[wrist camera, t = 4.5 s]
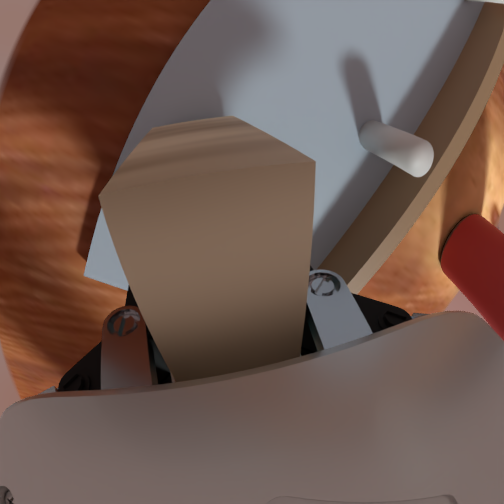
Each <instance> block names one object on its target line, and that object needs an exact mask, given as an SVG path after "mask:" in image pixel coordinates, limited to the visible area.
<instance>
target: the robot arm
mask: <svg viewBox="0 0 504 504" xmlns="http://www.w3.org/2000/svg"><path fill="white" fill-rule="evenodd" d="M0 504H504V341H503V340H502V338H501V337H500V336H499V335H498V334H497V333H496V332H495V331H494V330H493V328H492V327H491V326H490V325H489V324H487V323H486V322H485V321H484V320H483V319H482V318H480V317H479V316H477V315H475V314H473V313H470V312H465V311H444V312H438V313H432V314H421V313H413V315H412V316H410V315H409V314H408V313H407V312H406V311H405V310H403V309H401V308H399V307H396V306H392V305H389V304H386V303H383V302H379V301H376V300H373V299H370V298H366V297H363V296H360V295H357V294H353V293H351V292H350V290H349V288H348V286H347V285H346V283H345V281H344V280H343V278H342V277H341V276H340V275H338V274H337V273H335V272H332V271H329V270H323V269H322V270H313V268H312V267H311V265H310V272H309V283H308V293H307V303H306V312H305V321H304V329H303V337H302V345H301V352H300V357H297V358H293V359H290V360H286V361H282V362H278V363H274V364H270V365H266V366H262V367H257V368H253V369H248V370H244V371H239V372H234V373H229V374H224V375H219V376H213V377H207V378H201V379H195V380H189V381H182V382H175V379H174V377H173V375H172V374H171V372H170V370H169V368H168V366H167V364H166V363H165V361H164V359H163V357H162V355H161V353H160V351H159V349H158V347H157V345H156V343H155V341H154V339H153V337H152V335H151V333H150V331H149V329H148V327H147V325H146V323H145V320H144V318H143V316H142V314H141V312H140V309H139V307H138V305H137V303H136V300H135V298H134V296H133V293H132V291H131V289H130V286H128V292H127V298H126V304H125V306H123V307H120V308H117V309H116V310H114V311H112V312H111V313H110V314H109V315H108V316H107V317H106V319H105V321H104V323H103V328H102V341H101V342H100V343H99V344H98V345H97V346H96V347H94V348H93V349H92V350H91V351H90V352H89V353H88V354H87V355H86V356H84V357H83V358H82V359H81V360H80V361H79V362H78V363H77V364H76V365H74V366H73V367H72V368H71V369H70V370H69V371H68V372H67V373H66V374H65V375H64V376H63V377H62V379H61V381H60V383H59V387H58V388H56V387H55V386H53V387H51V388H49V389H47V390H45V391H43V392H42V393H40V394H38V395H35V396H31V397H27V398H25V399H22V400H20V401H18V402H16V403H14V404H13V405H11V406H10V407H8V408H7V409H6V410H5V411H4V412H3V414H2V416H1V418H0Z"/></svg>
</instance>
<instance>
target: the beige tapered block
mask: <svg viewBox="0 0 504 504" xmlns="http://www.w3.org/2000/svg"><path fill="white" fill-rule="evenodd" d="M315 172H316V161H314V160H313V159H311V158H309V157H308V156H306V155H304V154H303V153H301V152H299V151H298V150H296V149H294V148H293V147H291V146H289V145H287V144H286V143H284V142H282V141H280V140H279V139H277V138H275V137H273V136H271V135H269V134H268V133H266V132H264V131H262V130H260V129H258V128H256V127H254V126H253V125H251V124H249V123H247V122H245V121H243V120H241V119H239V118H237V117H235V116H224V117H215V118H208V119H200V120H193V121H187V122H181V123H175V124H170V125H164V126H159V127H154V128H152V129H151V130H150V131H149V132H148V133H147V134H146V136H145V137H144V138H143V139H142V140H141V141H140V143H139V144H138V145H137V146H136V147H135V148H134V150H133V151H132V152H131V153H130V155H129V156H128V157H127V158H126V159H125V161H124V162H123V163H122V165H121V166H120V167H119V168H118V170H117V171H116V172H115V174H114V175H113V176H112V178H111V179H110V180H109V182H108V183H107V184H106V186H105V187H104V189H103V190H102V191H101V193H100V194H99V196H98V197H99V200H100V204H101V207H102V210H103V214H104V217H105V220H106V223H107V226H108V229H109V232H110V235H111V238H112V241H113V244H114V247H115V250H116V253H117V255H118V258H119V261H120V263H121V266H122V269H123V271H124V274H125V276H126V279H127V281H128V284H129V286H130V289H131V291H132V293H133V296H134V298H135V300H136V303H137V305H138V307H139V309H140V312H141V314H142V316H143V318H144V320H145V323H146V325H147V327H148V329H149V331H150V333H151V335H152V337H153V339H154V341H155V343H156V345H157V347H158V349H159V351H160V353H161V355H162V357H163V359H164V361H165V363H166V364H167V366H168V368H169V370H170V372H171V374H172V375H173V377H174V379H175V381H176V382H182V381H189V380H195V379H201V378H207V377H213V376H219V375H224V374H229V373H234V372H239V371H244V370H248V369H253V368H257V367H262V366H266V365H270V364H274V363H278V362H282V361H286V360H290V359H293V358H297V357H300V352H301V345H302V337H303V329H304V321H305V312H306V303H307V293H308V283H309V272H310V260H311V248H312V233H313V217H314V198H315Z"/></svg>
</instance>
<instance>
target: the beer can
mask: <svg viewBox="0 0 504 504" xmlns="http://www.w3.org/2000/svg"><path fill="white" fill-rule="evenodd" d="M441 268H442V270H443V272H444V273H445V274H446V276H447V277H448V278H449V279H450V280H451V281H452V282H453V283H454V284H455V285H456V286H457V287H458V288H459V290H460V291H461V292H462V293H463V294H464V295H465V296H466V297H467V298H468V300H469V301H470V302H471V303H472V304H473V305H474V307H475V308H476V309H477V310H478V311H479V313H480V314H481V315H482V316H483V317H484V319H485V320H486V321H487V322H488V324H489V325H490V326H491V327H492V328H493V330H494V331H495V332H496V333H497V334H498V335H499V336H500V337H501V338H502V340H503V341H504V234H503V233H502V232H501V231H500V230H498V229H497V228H496V227H495V226H494V225H492V224H491V223H490V222H489V221H487V220H486V219H485V218H483V217H482V216H481V215H477V214H472V215H469V216H467V217H465V218H464V219H463V220H461V221H460V222H459V223H458V224H457V225H456V227H455V228H454V229H453V230H452V232H451V234H450V235H449V237H448V238H447V241H446V243H445V245H444V247H443V251H442V255H441Z"/></svg>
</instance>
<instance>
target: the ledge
mask: <svg viewBox="0 0 504 504" xmlns="http://www.w3.org/2000/svg"><path fill="white" fill-rule="evenodd" d="M503 64H504V0H210V2H209V3H208V4H207V5H206V7H205V8H204V9H203V11H202V12H201V13H200V15H199V16H198V17H197V19H196V20H195V21H194V23H193V24H192V25H191V27H190V28H189V30H188V31H187V33H186V34H185V35H184V37H183V38H182V40H181V41H180V43H179V44H178V46H177V47H176V49H175V51H174V52H173V54H172V55H171V57H170V58H169V60H168V62H167V63H166V65H165V67H164V68H163V70H162V72H161V74H160V75H159V77H158V79H157V81H156V82H155V84H154V86H153V88H152V90H151V91H150V93H149V95H148V97H147V99H146V101H145V103H144V105H143V107H142V109H141V111H140V113H139V115H138V117H137V119H136V121H135V123H134V125H133V128H132V130H131V132H130V134H129V136H128V139H127V141H126V143H125V146H124V148H123V150H122V153H121V155H120V158H119V160H118V163H117V165H116V168H115V171H114V173H113V175H114V174H115V172H116V171H117V170H118V168H119V167H120V166H121V165H122V163H123V162H124V161H125V159H126V158H127V157H128V156H129V155H130V153H131V152H132V151H133V150H134V148H135V147H136V146H137V145H138V144H139V143H140V141H141V140H142V139H143V138H144V137H145V136H146V134H147V133H148V132H149V131H150V130H151V129H152V128H154V127H159V126H164V125H170V124H175V123H181V122H187V121H193V120H200V119H208V118H215V117H224V116H235V117H237V118H239V119H241V120H243V121H245V122H247V123H249V124H251V125H253V126H254V127H256V128H258V129H260V130H262V131H264V132H266V133H268V134H269V135H271V136H273V137H275V138H277V139H279V140H280V141H282V142H284V143H286V144H287V145H289V146H291V147H293V148H294V149H296V150H298V151H299V152H301V153H303V154H304V155H306V156H308V157H309V158H311V159H313V160H314V161H316V172H315V198H314V217H313V233H312V248H311V260H310V265H311V267H312V268H313V270H322V269H323V270H329V271H332V272H335V273H337V274H338V275H340V276H341V277H342V278H343V280H344V281H345V283H346V285H347V286H348V288H349V290H350V292H351V293H353V294H358V293H359V291H360V290H361V289H362V288H363V287H364V286H365V285H366V283H367V282H368V281H369V280H370V279H371V278H372V276H373V275H374V274H375V273H376V272H377V271H378V269H379V268H380V267H381V266H382V265H383V263H384V262H385V261H386V260H387V258H388V257H389V256H390V255H391V253H392V252H393V251H394V250H395V248H396V247H397V246H398V244H399V243H400V242H401V241H402V239H403V238H404V237H405V235H406V234H407V233H408V231H409V230H410V229H411V227H412V226H413V225H414V223H415V222H416V220H417V219H418V218H419V216H420V215H421V214H422V212H423V211H424V209H425V208H426V206H427V205H428V204H429V202H430V201H431V199H432V198H433V196H434V195H435V193H436V192H437V190H438V189H439V187H440V186H441V184H442V182H443V181H444V179H445V178H446V176H447V175H448V173H449V171H450V170H451V168H452V167H453V165H454V163H455V162H456V160H457V158H458V157H459V155H460V153H461V151H462V150H463V148H464V146H465V144H466V143H467V141H468V139H469V137H470V135H471V133H472V132H473V130H474V128H475V126H476V124H477V122H478V120H479V118H480V116H481V114H482V112H483V110H484V108H485V106H486V104H487V102H488V99H489V97H490V95H491V93H492V91H493V88H494V86H495V84H496V81H497V79H498V76H499V74H500V71H501V69H502V66H503ZM84 276H86V277H89V278H92V279H95V280H97V281H100V282H103V283H106V284H109V285H112V286H115V287H118V288H121V289H124V290H127V291H128V286H129V284H128V281H127V279H126V276H125V274H124V271H123V269H122V266H121V263H120V261H119V258H118V255H117V253H116V250H115V247H114V244H113V241H112V238H111V235H110V232H109V229H108V226H107V223H106V220H105V217H104V214H103V210H102V208H101V211H100V214H99V218H98V221H97V224H96V228H95V231H94V235H93V239H92V243H91V247H90V251H89V255H88V259H87V263H86V268H85V272H84Z"/></svg>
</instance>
